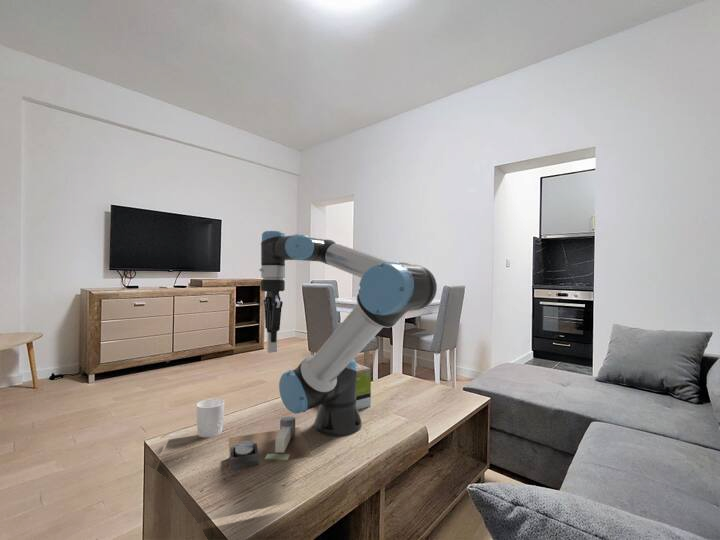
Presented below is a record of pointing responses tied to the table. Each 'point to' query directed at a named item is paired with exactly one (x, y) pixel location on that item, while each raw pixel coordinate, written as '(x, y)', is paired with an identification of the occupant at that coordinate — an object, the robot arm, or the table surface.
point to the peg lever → (285, 433)
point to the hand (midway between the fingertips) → (272, 351)
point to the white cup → (210, 417)
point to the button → (243, 448)
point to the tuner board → (267, 449)
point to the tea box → (363, 386)
